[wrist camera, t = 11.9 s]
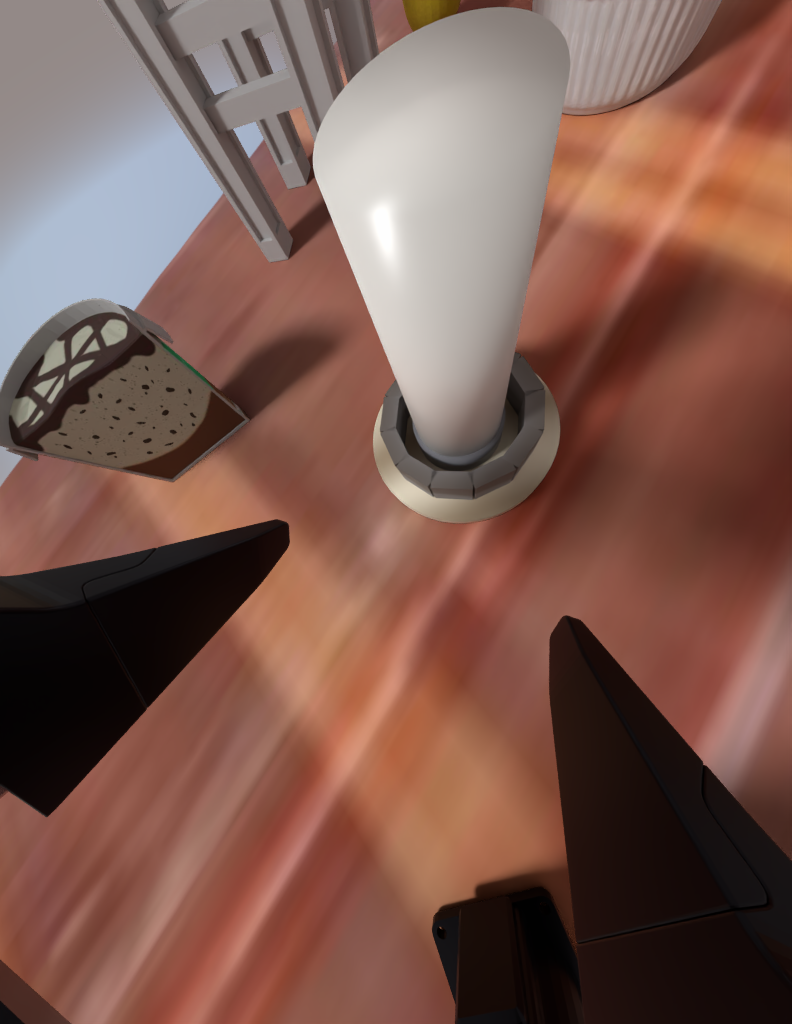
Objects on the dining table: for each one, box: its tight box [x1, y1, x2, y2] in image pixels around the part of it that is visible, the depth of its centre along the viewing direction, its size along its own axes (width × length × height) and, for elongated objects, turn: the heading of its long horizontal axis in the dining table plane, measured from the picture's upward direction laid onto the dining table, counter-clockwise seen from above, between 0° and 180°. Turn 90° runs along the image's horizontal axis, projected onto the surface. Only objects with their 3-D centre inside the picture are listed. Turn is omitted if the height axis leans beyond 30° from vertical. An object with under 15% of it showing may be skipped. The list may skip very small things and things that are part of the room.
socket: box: [373, 352, 560, 524], centre depth 18 cm, size 12×12×4 cm
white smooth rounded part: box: [313, 7, 570, 471], centre depth 12 cm, size 5×5×14 cm
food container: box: [0, 299, 250, 482], centre depth 22 cm, size 12×6×10 cm, turn 123°
